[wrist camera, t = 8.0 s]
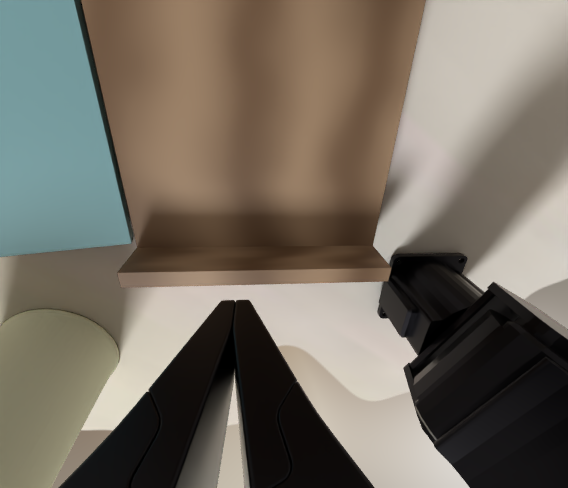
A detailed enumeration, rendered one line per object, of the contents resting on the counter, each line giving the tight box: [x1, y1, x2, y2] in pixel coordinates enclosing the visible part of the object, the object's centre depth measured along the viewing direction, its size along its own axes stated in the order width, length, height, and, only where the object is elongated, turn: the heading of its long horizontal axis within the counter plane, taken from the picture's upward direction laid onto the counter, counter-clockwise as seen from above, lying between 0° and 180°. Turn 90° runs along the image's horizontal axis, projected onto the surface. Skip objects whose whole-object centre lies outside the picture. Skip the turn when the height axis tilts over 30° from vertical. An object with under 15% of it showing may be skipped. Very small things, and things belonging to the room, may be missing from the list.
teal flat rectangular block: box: [0, 0, 134, 257], centre depth 13 cm, size 2×17×8 cm
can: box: [0, 309, 119, 488], centre depth 18 cm, size 9×9×12 cm
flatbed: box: [81, 0, 426, 288], centre depth 14 cm, size 16×20×5 cm
